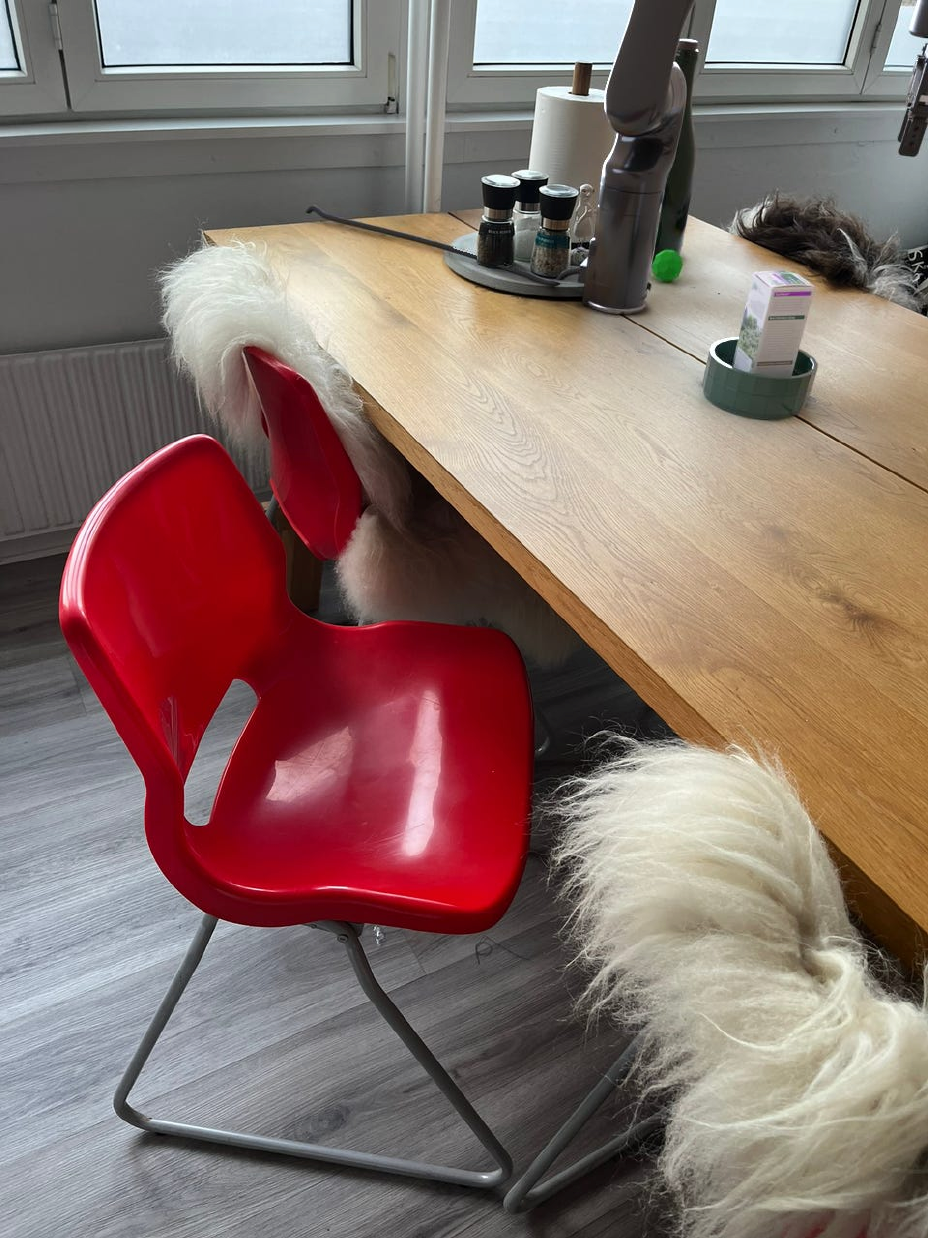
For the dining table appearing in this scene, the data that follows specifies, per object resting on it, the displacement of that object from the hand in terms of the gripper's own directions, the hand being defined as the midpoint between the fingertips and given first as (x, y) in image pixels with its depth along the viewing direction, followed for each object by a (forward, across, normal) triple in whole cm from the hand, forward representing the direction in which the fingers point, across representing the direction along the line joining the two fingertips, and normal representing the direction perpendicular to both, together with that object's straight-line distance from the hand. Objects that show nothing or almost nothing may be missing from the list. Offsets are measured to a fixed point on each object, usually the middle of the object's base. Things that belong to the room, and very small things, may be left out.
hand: (906, 148), depth 114 cm
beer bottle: (+28, -40, -34) cm, 59 cm away
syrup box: (+27, +16, -10) cm, 33 cm away
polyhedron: (+28, -26, -29) cm, 48 cm away
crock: (+28, +16, -10) cm, 34 cm away
